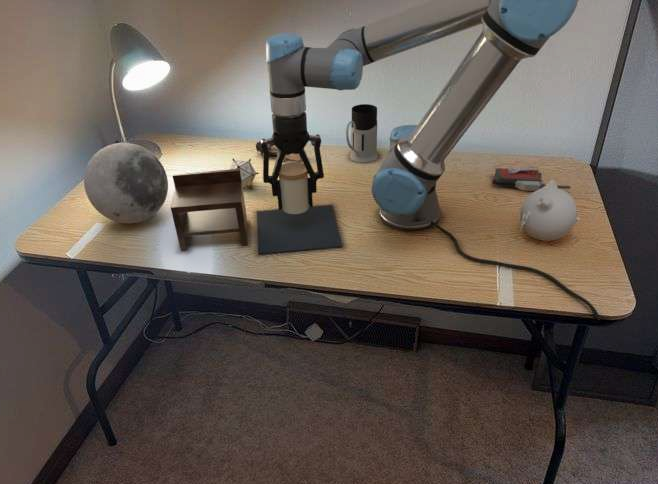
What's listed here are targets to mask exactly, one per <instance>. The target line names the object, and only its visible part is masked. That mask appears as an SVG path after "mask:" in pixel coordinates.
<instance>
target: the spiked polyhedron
mask: <svg viewBox="0 0 658 484" xmlns="http://www.w3.org/2000/svg"><path fill="white" fill-rule="evenodd" d="M232 161H233V162H232V164H231V167H230V168H229V170H230V169H240V172H241V179H242V186H243V188H245V187H246V188H249V189H250V190H252V189H253V187H252V184H253V182H254V180H255V177H256V176H257V175H259V174H260V173H259V172H258V171H257V172H256V170H255V168H254V167H253V165H252V163H251V161H252V159H251V158H249V160H235V158H232Z"/></svg>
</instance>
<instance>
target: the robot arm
mask: <svg viewBox="0 0 658 484" xmlns="http://www.w3.org/2000/svg"><path fill="white" fill-rule="evenodd" d="M578 3H579V0H426V1H424V2H423V1H422V2H421V3H418V4H416V5H413V6H411V7H408V8H406V9H403V10H401V11H397V12H396V13H393V14H390V15H388V16H386V17H383V18H380V19H378V20H375V21H373V22H370V23H367V24H366V25H364V26H360V27H358V28H355V27H354V28H350V29H348V30H345V31H342V32H341V33H340V35H338V37H336V39H334V41H332V42H331V43H330V44H329V45H327V47H311V46H310V47H308V46H305V45H304V41H303V37H302V36H301V35H300V34H299V33H298V34H297V33H291V32H281V33H277V34H273V35H271V36H269V37H268V39H267V40H266V42H265V49H266V52H265V53H266V60H265V62H266V64H267V65H266V66H267V76H268V84H269V86H268V87H269V100H270V110H271V111H270V112H271V113H272V114H271V122H272V130H273V131H272V135H271V137H270V138H267V139H265V138H261V139H260V141H261V147H262V150H263V155H262V182H263V184H270V185H271V194H272V196H273V197H277V207H278V208H277V209H279V210H282V206H281V194H280V183H279V172H280V169H281V166H282V164H284V161H285V160H284V157H285V155H289V154H299V155H300V157H301V161H302V163H303V164H304V165H305V167H306V170H308V189H309V207H313V206H314V202H313V194H316V193H317V191H318V190H317V189H318V188H317V187H318V186H317V182H318V180H319V179H320V180H321V179H323V178H324V177H325V174H324V168H323V160H322V155H321V145H322V138H321V135H320V134H315V135H313V134H310V132H308V120H307V112H306V110H307V101H306V100H307V99H306V88H317V89H328V90H337V91H355V90H356V89H357V88H359V86H360V85H361V81H362V78H363V72H364V67H365V66H367V65H371V64H373V63H376V62H378V61H381V60H384V59H386V58H389V57H392V56H395V55H399V54H401V53H404V52H406V51H409V50H412V49H415V48H418V47H421V46H423V45H427V44H429V43H432V42H434V41H437V40H440V39H443V38H446V37H450V36H452V35H454V34H457V33H461V32H463V31H466V30H469V29H472V28H474V27H477V26H480V25H481V28H482V30H481V33H480V34H479V35H478V36H477V38H476V40H475V41H474V43H473V44H472V46H471V47H470V49H469V50H468V51H467V52H466V55H465V56H464V57H463V59H462V60H461V61H460V62H459V65H458V66H457V68H456V69H455V70H454V72H453V74H452V75H451V76H450V78H448V81H447V82H446V83H445V85H444V87H442V89H441V91H440V92H439V93H438V95H437V97H436V98H435V100H434V101H433V103H432V104H431V105H430V107H429V108H428V110H427V111H426V113H425V114H424V116H423V117H422V118H421V120H420V121H419V122H418V124H405V125H399V126H395V127H394V128H393V129H392V130H391V131H390V135H389V139H388V141H389V150H388V152H387V154H386V156H385V157H384V160H383V161H382V164H381V165H380V167H379V169H378V170H377V172H376V174H374V176H373V178H372V184H371V193H372V197H373V200H374V202H375V204H376V205H377V206H378V207H379V218H380V220H381V222H382V223H383V224H385V225H386V226H388V227H390V228H392V229H394V230H399V231H404V232H418V231H425V230H428V229H431V228H433V227H435V228H436V229H437V230H439V231H440V232H442V233H444V234H445V235H447V237H449V238H450V239H451V240H452V241H453V244H454V246H455V249H456V251H457V252H458V253H459V254H460V255H461V256H462V257H464V258H466V259H468V260H470V261H473V262H476V263H482V264H490V265H496V266H501V267H505V268H512V269H518V270H524V271H528V272H533V273H535V274H538V275H541V276H543V277H545V278H547V279H549V280H550V281H552V282H553V283H554V284H556V285H557V286H559V288H561V289H562V290H563V291H565V292H566V293H567V294H569V295H571V296H572V297H573V298H576V300H579V301H581V303H584V304H585V305H586V306H587V307H588V308H589V309H590V311H591V312H592V314H593V315H594V317H595V320H597V321H601V316H600V315H599V312H598V311H597V309H596V307H595V306H594V305H593V304H592V303H591V302H590V301H588V300H587V299H586V298H584V296H583V297H582V295H579V294H578V293H576V292H574V291H573V290H571V289H570V288H568V287H567V286H565V285H564V284H563V283H561V282H560V281H559V279H556V278H555V277H554V276H552V275H551V274H549V273H547V272H544V271H542V270H539V269H537V268H534V267H529V266H525V265H518V264H512V263H506V262H501V261H496V260H491V259H490V260H489V259H483V258H477V257H475V256H471V255H468V254H467V253H465V252H464V251H463V250H462V249H461V248H460V245H459V242H458V240H457V239H456V237H455V236H454V235H453V234H452V233H450V232H449V231H447V230H446V229H445V228H443V227H441V226H440V225H439V224H438V223H439V221H440V219H441V206H440V203H439V202H440V201H439V199H438V195H437V190H436V187H437V182H438V181H439V179H440V178H441V177H442V176H443V174H444V173H445V171H446V165H445V160H446V158H447V157H448V156H449V154H451V152H452V151H453V150H454V148H455V147H456V146H457V144H458V142H459V141H460V140H461V139H462V138H463V136H464V135H465V134H466V133H467V131H468V130H469V129H470V128H471V127H472V125H473V123H474V122H475V120H476V119H477V118H478V117H479V115H480V114H481V113H482V112H483V110H484V109H485V108H486V106H487V105H488V104H489V103H490V101H491V100H492V98H493V97H494V96H495V95H496V93H497V92H498V91H499V89H500V88H501V87H502V86H503V84H504V83H505V82H506V81H507V79H508V78H509V76H510V75H511V74H512V73H513V71H514V70H515V69H516V67H517V66H518V65H519V64H520V62H521V61H522V60H523V59H530V58H533V57H536V56H537V54H539V51H540V50H541V49H542V48H543V47H544V46H545V45H546V43H547V42H548V40H549V39H550V38H551V37H552V36H554V35H556V34H557V33H559V31H561V30H562V29H563V28H564V27H565V26H566V25H567V24H568V23H569V21H570V20H571V18H572V16H573V14H574V13H575V11H576V9H577V5H578ZM309 142H310V144H311V146H313V150H314V158H315V163H316V171H315V170H314V168H313V166H312V163H311V162H310V159H309V156H308V154H307V153H306V150H305V148H306V146H307V144H308V143H309ZM272 144H274V145H275V146H276V147H277V148H278V149H279V150H278V155H276V158H275V162H274V165H273V168H272V169H273V170H272V173H271V175H269V173H270V171H269V170H270V155H269V149H271V145H272Z"/></svg>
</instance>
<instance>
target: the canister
mask: <svg viewBox="0 0 658 484" xmlns="http://www.w3.org/2000/svg"><path fill="white" fill-rule="evenodd" d="M308 178H309V174H308V170H306V167H305V165H304V163H303V162H301V161H290V162H284V163H282V166H281V169H280V172H279V176H278V180H279V183H280V194H281V206H282V210H283V211H284V212H286V213H289V214H300V213H303V212H305V211H307V210H308V209H309V207H310V206H309V189H308Z"/></svg>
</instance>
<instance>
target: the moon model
mask: <svg viewBox="0 0 658 484" xmlns="http://www.w3.org/2000/svg"><path fill="white" fill-rule="evenodd" d="M83 186H84V191H85V194H86V197H87V198H88V200H89V203H90V204H91V205H92V207H93V208H94V209H95V210H96V211H97V212H98V213H99V214H100V215H102V216H103V217H105V218H106V219H109V220H110V221H112V222H115V223H121V224H137V223H141V222H145V221H146V220H148V219H150V218H152V217H153V216H155V215H156V214H157V213H158V212H159V211H160V210H161V208H162V207H163V206H164V204H165V202H166V199H167V196H168V191H169V180H168V175H167V172H166V170H165V168H164V166H163V164H162V162H161V161H160V160H159V158H158V157H157V156H156V155H155V154H154V153H152V152H151V151H150V150H148V149H147V148H145V147H143V146H141V145H138V144H136V143H135V144H134V143H131V142H117V143H112V144H108V145H107V146H104V147H102V148H100V149H99V150H98V151H97V152H96V153H94V155H92V156H91V158H90V159H89V161H88V163H87V165H86V167H85V170H84V175H83Z"/></svg>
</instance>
